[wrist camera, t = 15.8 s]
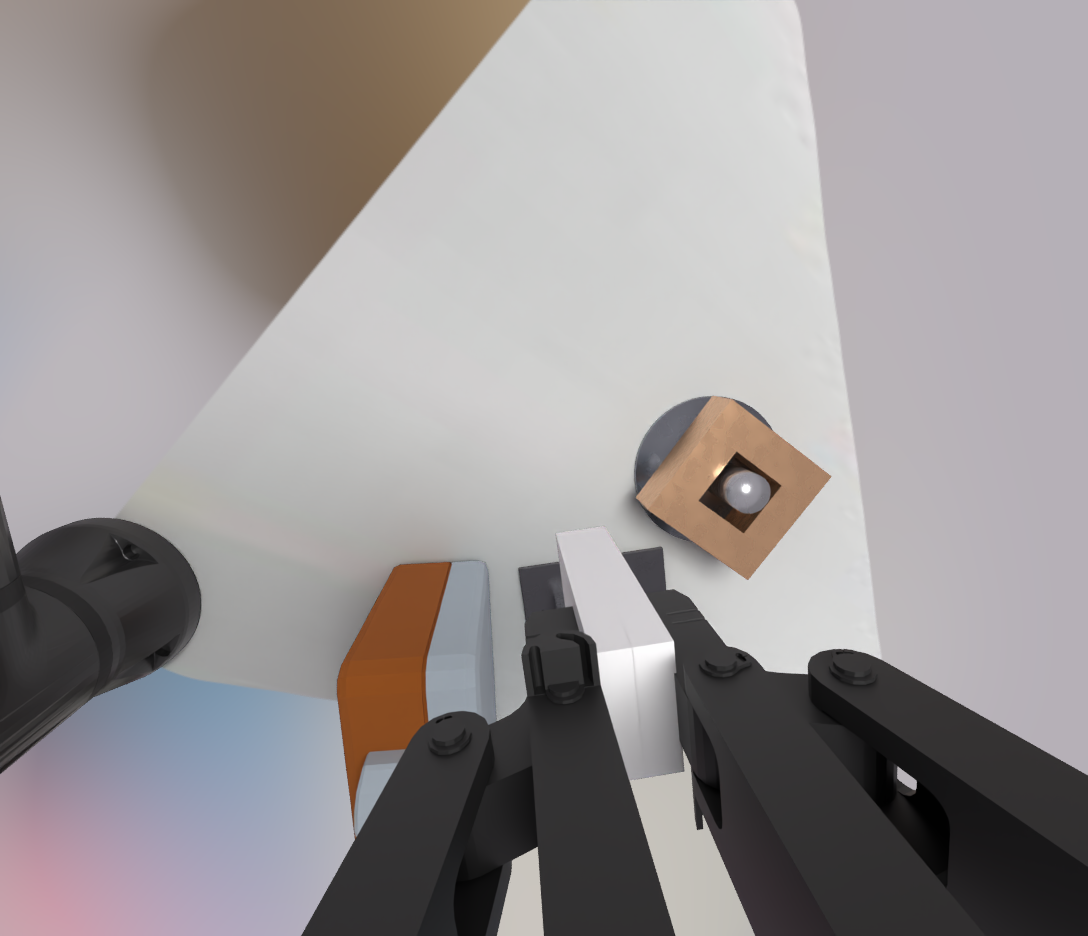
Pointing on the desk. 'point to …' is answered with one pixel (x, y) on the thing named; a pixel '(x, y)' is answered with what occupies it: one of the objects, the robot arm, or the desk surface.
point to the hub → (729, 487)
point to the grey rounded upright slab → (413, 669)
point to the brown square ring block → (702, 460)
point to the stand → (546, 581)
